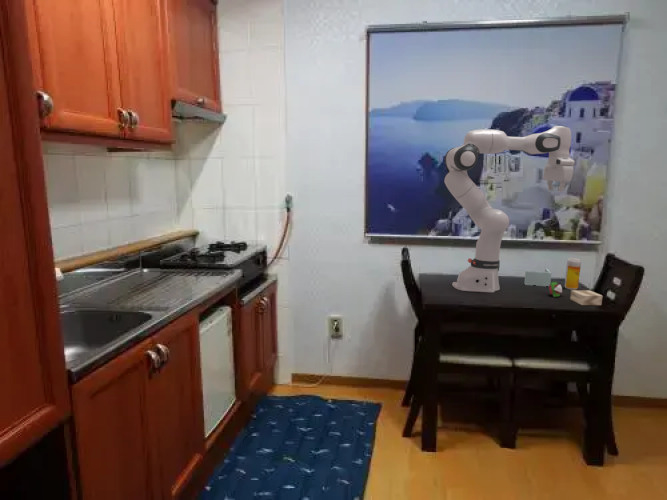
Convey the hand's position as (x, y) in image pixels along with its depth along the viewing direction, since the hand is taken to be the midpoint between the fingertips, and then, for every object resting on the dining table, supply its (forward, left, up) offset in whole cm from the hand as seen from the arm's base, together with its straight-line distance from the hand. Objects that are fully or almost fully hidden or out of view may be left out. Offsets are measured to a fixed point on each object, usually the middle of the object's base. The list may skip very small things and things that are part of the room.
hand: (555, 190), depth 229 cm
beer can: (+13, 0, -48) cm, 50 cm away
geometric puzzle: (-3, -14, -48) cm, 50 cm away
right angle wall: (0, +11, -49) cm, 50 cm away
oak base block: (+6, -24, -48) cm, 54 cm away
